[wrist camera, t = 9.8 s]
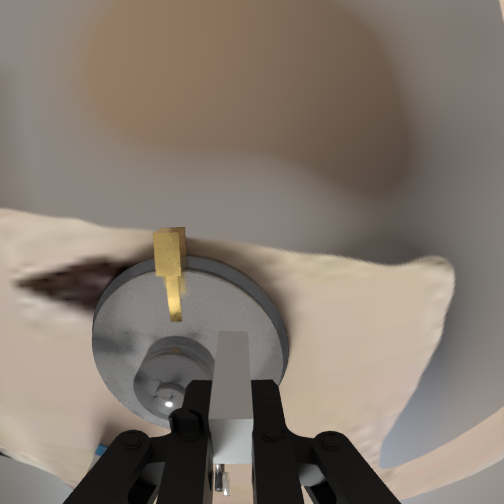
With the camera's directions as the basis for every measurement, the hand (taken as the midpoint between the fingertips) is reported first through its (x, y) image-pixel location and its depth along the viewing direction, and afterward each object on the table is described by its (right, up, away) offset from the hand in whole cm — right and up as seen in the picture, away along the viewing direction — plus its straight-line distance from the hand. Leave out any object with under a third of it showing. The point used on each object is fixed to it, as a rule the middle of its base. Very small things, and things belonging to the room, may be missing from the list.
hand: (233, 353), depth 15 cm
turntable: (-7, -5, +17) cm, 19 cm away
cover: (-7, -7, +15) cm, 18 cm away
